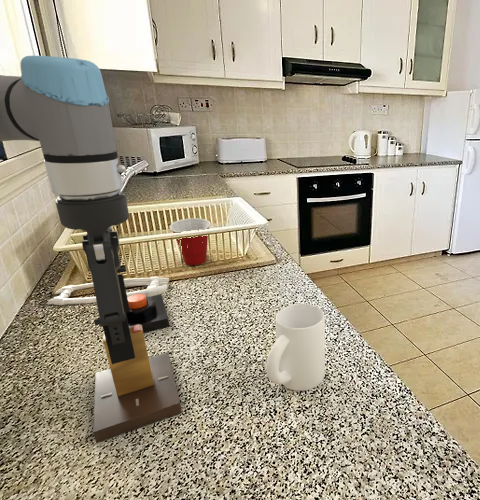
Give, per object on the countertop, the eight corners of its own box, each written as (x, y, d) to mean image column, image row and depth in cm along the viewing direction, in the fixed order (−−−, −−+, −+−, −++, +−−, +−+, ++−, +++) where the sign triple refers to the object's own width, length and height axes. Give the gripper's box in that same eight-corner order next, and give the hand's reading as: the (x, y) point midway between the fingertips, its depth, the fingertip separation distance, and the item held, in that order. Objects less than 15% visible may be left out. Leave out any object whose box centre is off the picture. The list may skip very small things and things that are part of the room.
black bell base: (113, 313, 83) (109, 297, 81) (163, 302, 87) (160, 287, 86) (114, 341, 73) (109, 323, 72) (169, 327, 78) (166, 310, 77)
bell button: (127, 303, 79) (125, 296, 79) (146, 299, 81) (145, 292, 81) (128, 311, 77) (126, 303, 76) (147, 306, 78) (146, 299, 78)
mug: (251, 392, 61) (245, 330, 57) (297, 354, 70) (295, 298, 66) (289, 414, 57) (286, 348, 52) (333, 370, 66) (334, 312, 62)
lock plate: (98, 382, 62) (95, 371, 62) (169, 361, 68) (167, 351, 67) (96, 443, 51) (92, 431, 50) (182, 412, 57) (180, 401, 56)
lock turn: (117, 396, 57) (102, 339, 53) (117, 387, 58) (102, 332, 55) (154, 385, 59) (142, 330, 55) (152, 377, 61) (141, 323, 57)
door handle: (167, 298, 89) (42, 314, 81) (171, 281, 98) (58, 293, 90) (166, 288, 88) (38, 303, 80) (170, 272, 97) (55, 283, 89)
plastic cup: (174, 272, 103) (167, 231, 99) (176, 258, 112) (170, 219, 108) (216, 267, 107) (211, 227, 102) (214, 253, 116) (209, 216, 112)
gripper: (129, 214, 40) (159, 375, 47) (121, 174, 59) (143, 292, 67) (39, 223, 36) (88, 396, 44) (63, 177, 55) (93, 302, 63)
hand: (121, 334), depth 55 cm, fingers open, 13 cm apart
